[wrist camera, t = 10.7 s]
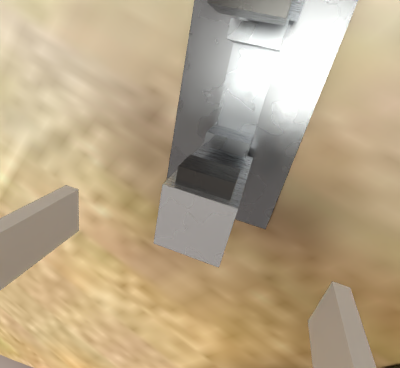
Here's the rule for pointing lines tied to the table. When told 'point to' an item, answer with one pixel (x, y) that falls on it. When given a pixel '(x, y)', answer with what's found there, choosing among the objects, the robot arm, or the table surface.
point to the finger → (201, 204)
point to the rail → (256, 86)
